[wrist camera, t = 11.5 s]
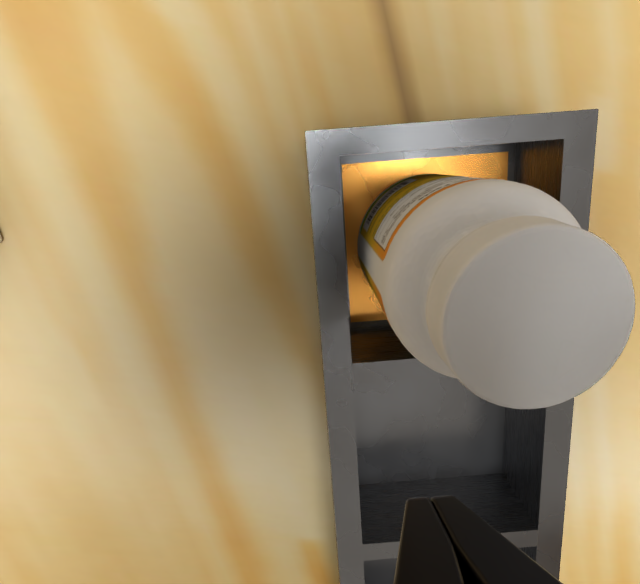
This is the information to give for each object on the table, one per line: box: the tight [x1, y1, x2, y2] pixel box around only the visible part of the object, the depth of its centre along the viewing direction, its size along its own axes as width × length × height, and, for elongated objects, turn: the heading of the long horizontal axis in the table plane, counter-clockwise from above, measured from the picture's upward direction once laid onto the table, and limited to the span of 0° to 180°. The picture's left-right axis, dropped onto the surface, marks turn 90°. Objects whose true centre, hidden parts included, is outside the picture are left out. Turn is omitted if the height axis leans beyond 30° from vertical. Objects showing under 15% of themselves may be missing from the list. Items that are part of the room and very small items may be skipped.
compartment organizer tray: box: [305, 109, 598, 584], centre depth 20 cm, size 24×9×4 cm, turn 4°
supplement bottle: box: [358, 174, 635, 409], centre depth 14 cm, size 5×5×10 cm
